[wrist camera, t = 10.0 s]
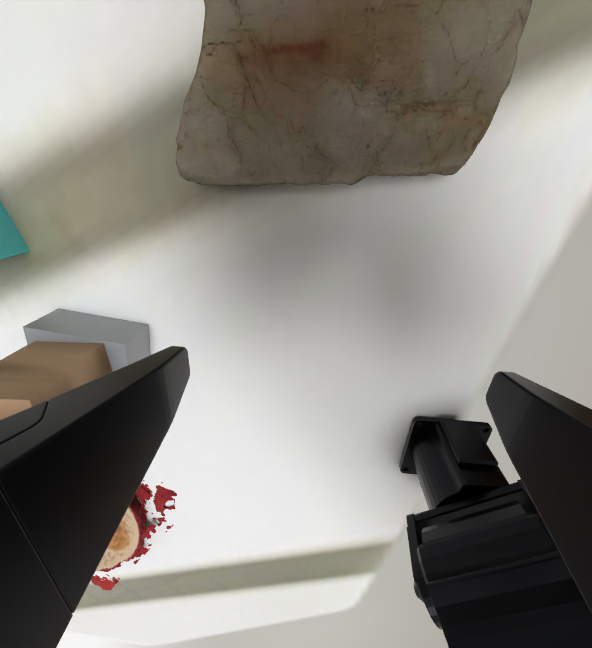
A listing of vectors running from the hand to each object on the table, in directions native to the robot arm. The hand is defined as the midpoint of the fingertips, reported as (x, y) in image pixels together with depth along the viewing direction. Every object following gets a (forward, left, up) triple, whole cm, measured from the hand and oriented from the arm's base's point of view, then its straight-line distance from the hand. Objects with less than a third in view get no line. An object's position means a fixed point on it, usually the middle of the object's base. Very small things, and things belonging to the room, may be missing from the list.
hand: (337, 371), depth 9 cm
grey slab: (-9, +17, -13) cm, 23 cm away
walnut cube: (-9, +17, -10) cm, 22 cm away
